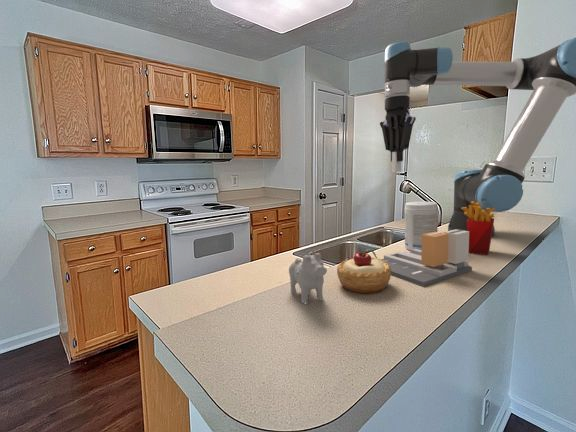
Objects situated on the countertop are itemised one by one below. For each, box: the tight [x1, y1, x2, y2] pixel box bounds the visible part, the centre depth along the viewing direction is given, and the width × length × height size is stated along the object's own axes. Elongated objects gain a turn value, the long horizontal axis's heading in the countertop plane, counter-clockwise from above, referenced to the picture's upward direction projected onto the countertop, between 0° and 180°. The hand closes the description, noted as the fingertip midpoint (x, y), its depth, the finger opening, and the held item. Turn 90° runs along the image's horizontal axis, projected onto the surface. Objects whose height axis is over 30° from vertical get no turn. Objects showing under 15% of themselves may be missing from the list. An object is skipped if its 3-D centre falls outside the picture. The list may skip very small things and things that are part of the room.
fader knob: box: [421, 231, 448, 270], centre depth 79 cm, size 5×4×9 cm
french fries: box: [462, 201, 495, 256], centre depth 95 cm, size 9×8×15 cm
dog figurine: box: [288, 252, 328, 305], centre depth 68 cm, size 5×13×11 cm, turn 22°
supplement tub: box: [404, 201, 439, 252], centre depth 101 cm, size 10×10×15 cm
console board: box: [380, 229, 473, 287], centre depth 83 cm, size 18×18×10 cm
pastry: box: [336, 248, 392, 294], centre depth 74 cm, size 12×12×9 cm
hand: (396, 171), depth 106 cm, fingers closed
